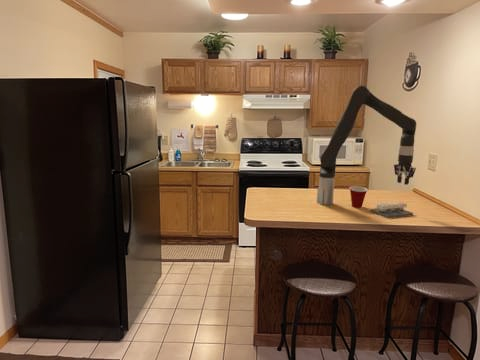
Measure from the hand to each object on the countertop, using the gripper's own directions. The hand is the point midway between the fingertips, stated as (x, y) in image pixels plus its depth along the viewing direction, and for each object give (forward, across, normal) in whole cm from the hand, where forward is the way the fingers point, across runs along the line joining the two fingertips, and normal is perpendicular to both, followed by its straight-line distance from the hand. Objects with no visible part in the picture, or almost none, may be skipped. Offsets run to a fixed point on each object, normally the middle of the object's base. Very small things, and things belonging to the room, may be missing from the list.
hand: (402, 183), depth 194 cm
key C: (+15, 0, 0) cm, 15 cm away
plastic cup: (+18, -18, -16) cm, 30 cm away
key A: (+15, 0, -13) cm, 20 cm away
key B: (+15, 0, -6) cm, 17 cm away
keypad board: (+17, 0, -6) cm, 18 cm away
